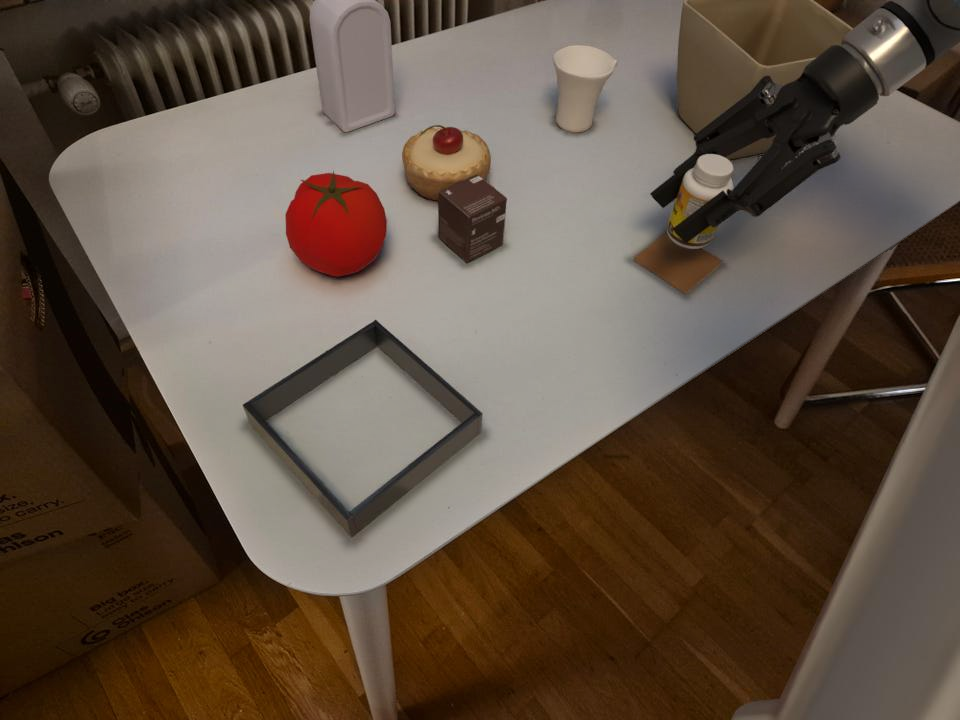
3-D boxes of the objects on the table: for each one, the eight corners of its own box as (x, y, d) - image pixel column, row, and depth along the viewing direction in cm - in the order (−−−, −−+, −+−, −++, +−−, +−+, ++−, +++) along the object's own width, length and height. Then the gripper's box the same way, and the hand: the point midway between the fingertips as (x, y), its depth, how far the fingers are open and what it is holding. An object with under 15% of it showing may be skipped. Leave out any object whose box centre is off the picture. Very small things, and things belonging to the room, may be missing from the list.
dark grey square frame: (480, 432, 67) (483, 413, 64) (351, 537, 59) (347, 521, 57) (378, 340, 73) (375, 319, 71) (250, 424, 66) (242, 404, 63)
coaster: (721, 264, 84) (723, 260, 84) (685, 294, 80) (687, 291, 80) (669, 232, 87) (671, 228, 87) (633, 260, 84) (634, 256, 83)
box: (466, 264, 82) (468, 217, 76) (436, 237, 84) (436, 190, 79) (503, 245, 84) (508, 198, 78) (474, 219, 87) (476, 172, 81)
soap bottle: (346, 136, 97) (325, -34, 79) (322, 113, 100) (297, -55, 82) (398, 118, 100) (390, -50, 82) (374, 96, 104) (361, -69, 86)
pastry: (502, 198, 90) (508, 141, 83) (419, 217, 87) (418, 159, 80) (469, 148, 96) (472, 91, 89) (391, 164, 93) (387, 106, 86)
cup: (607, 140, 100) (622, 76, 92) (545, 136, 99) (554, 72, 92) (601, 107, 105) (615, 45, 97) (543, 104, 105) (551, 41, 97)
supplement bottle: (674, 214, 83) (699, 143, 75) (717, 231, 81) (747, 159, 73) (658, 240, 80) (682, 168, 72) (702, 257, 78) (732, 186, 70)
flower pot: (823, 156, 100) (882, 45, 87) (717, 180, 95) (763, 66, 82) (748, 91, 111) (790, -17, 97) (649, 109, 106) (680, -2, 92)
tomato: (282, 239, 83) (264, 163, 74) (371, 218, 86) (364, 142, 77) (308, 305, 76) (292, 230, 67) (403, 279, 79) (399, 205, 71)
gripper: (798, 3, 70) (621, 153, 80) (909, 98, 59) (688, 259, 69) (819, 49, 76) (650, 185, 85) (925, 144, 65) (717, 287, 74)
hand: (667, 217), depth 77 cm, fingers closed on supplement bottle, 6 cm apart
